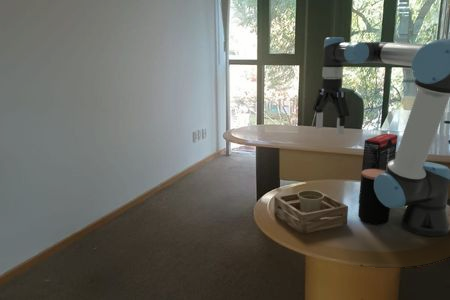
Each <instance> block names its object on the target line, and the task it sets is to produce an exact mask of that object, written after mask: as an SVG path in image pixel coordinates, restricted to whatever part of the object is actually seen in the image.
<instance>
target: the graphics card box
mask: <svg viewBox="0 0 450 300" xmlns="http://www.w3.org/2000/svg"><path fill="white" fill-rule="evenodd" d="M398 137H399V136H398V135H397V134H393V133H382V134H380V135H376V136H374V137H371V138H368V139H364V147H363V154H362V155H363V157H362V165H361V166H362V167H361V172H362V171H363V170H366V169H380V170H385V171H386V168H387V165H388V162H389V161H391V160H394V159H395V157H396V154H397V145H398V144H397V143H398ZM360 176H361V177H360V179H361V178H362V177H363V176H362V173H361V175H360ZM359 184H360V185H361V182H360V183H359ZM360 185H359V186H360ZM358 195H359V196H358V199H359V198H360V193H358Z"/></svg>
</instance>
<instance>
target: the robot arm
mask: <svg viewBox="0 0 450 300" xmlns="http://www.w3.org/2000/svg"><path fill="white" fill-rule="evenodd" d="M323 42H324V44H323V52H322V53H323V54H322V55H323V57H322V72H321V73H322V74H321V76H322V81H321V88H319V89H318V93H317V96H316V99H315V102H314V104H313V107H312V110H313V111H315V114H316V115H315V120H316V121H315V123H316V125H315V128H316V129H323V125H324V124H323V123H324V110H325V107H326V106H327V104H328V103H331V104H333V106H334V109H335V110H336V113H337V115H338V117H337V120H336V135H344V130H345V129H344V128H345V125H346V124H345V122H346V118H347V117H350V112H349V108H348V103H347V100H346V92H345V91H340V89H341V88H342V85H343V83H342V82H343V80H342V77H343V67H344V65H343V64H352V65H358V64H369V63H371V64H372V63H373V64H378V63H379V64H389V65H398V66H406V67H411V71H413V72H412V76H413V78H415V80H414V82H413V83H414V85H415V87H416V89H417V91H416V95H415V97H414V100H413V102H412V103H413V104H412V107H411V109H410V112H409V114H408V118H407V122H406V124H405V126H404V127H405V128H404V130H403V132H402V136H401V139H400V143H399V145H398V149H397V150H396V154H395V159H394V160H391V161H389V162H388V165H387V168H386V171H385V173H381V174H379V175H378V176H377V177H376V178H375V180H374V190H375V193H376V196H377V198H378V199H379V201H380V202H381V203H382V204H383V205H385V206H386V207H389V208H390V209H397V208H399V209H400V208H403V207H405V210H404V212H403V214H402V216H401V220H400V224H401V226H402V228H404V229H405V230H407V231H409V232H411V233H414V234H417V235H420V236H427V237H443V236H446V235H448V234H449V232H450V222H449V218H448V213H447V205H448V204H447V203H448V198H449V190H450V168H449V167H448V166H447V165H443V164H440V163H435V162H430V161H427V158H428V155H429V153H430V150H431V147H432V145H433V143H434V140H435V138H436V134H437V132H438V129H439V126H440V124H441V121H442V119H443V116H444V113H445V110H446V108H447V105H448V103H449V100H450V39H449V38H440V39H434V40H430V41H428V42H425V43H408V42H407V43H406V42H388V41H367V42H366V41H364V42H363V41H348V42H345V38H344V37H341V36H337V37H326V38H325V39H324V40H323Z"/></svg>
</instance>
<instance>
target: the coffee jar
mask: <svg viewBox="0 0 450 300" xmlns="http://www.w3.org/2000/svg"><path fill="white" fill-rule="evenodd" d="M381 173H385V170H380V169H366V170H363V171H362V170H361V174H362V176H363V177H362V178H361V177H360V183H361V185H359V186H360V187H359V194H360V198H359V197H358V213H357V214H358V215H357V216H358V219H359V220H360V221H361V222H362V223H364V224H367V225H372V226H383V225H385V224H387V223H388V221H389V220H390V214H391V213H390V212H391V208H389V207H386V206H385V205H383V204H382V203H381V202H380V201H379V199H378V198H377V196H376V193H375V190H374V180H375V178H376V177H377V176H378V175H379V174H381Z"/></svg>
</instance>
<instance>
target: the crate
mask: <svg viewBox="0 0 450 300" xmlns="http://www.w3.org/2000/svg"><path fill="white" fill-rule="evenodd" d="M311 191H318V192H321V191H320V190H318V189H311ZM298 193H299V192H295V193H294V192H293V193H289V194H282V195H275V196H274V200H273V201H274V203H273V208H274V209H273V211H274V212H273V214H274V215H275V216H276V217H278V218H279V219H281V220H282V221H283V222H284V223H286V224H288V226H290V227H291V228H292V229H294V230H295V231H296V232H298V233H299V234H300V235H304V234H309V233H313V232H318V231H324V230H329V229H333V228H338V227H343V226H347V225H348V216H349V215H348V213H349V206H348V205H347V204H345V203H342V202H341V201H340V200H337V199H335V198H333V197H332V196H329V195H328V194H325V193H324V192H321V193H322V194H323V195H324V197H323V199H322V201H321V206H320V211H314V212H309V213H305V212H301V207H300V200H299V197H298Z"/></svg>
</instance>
